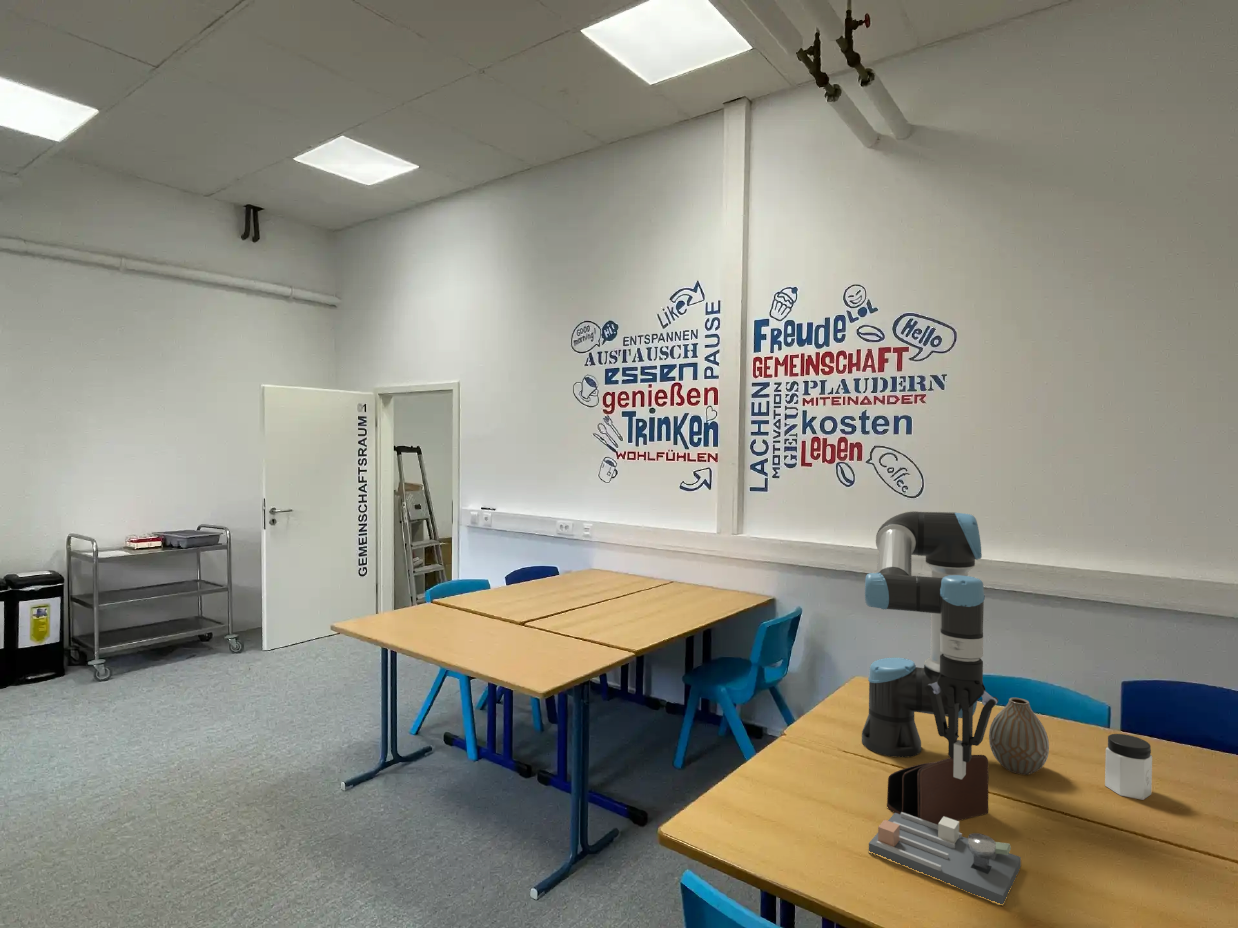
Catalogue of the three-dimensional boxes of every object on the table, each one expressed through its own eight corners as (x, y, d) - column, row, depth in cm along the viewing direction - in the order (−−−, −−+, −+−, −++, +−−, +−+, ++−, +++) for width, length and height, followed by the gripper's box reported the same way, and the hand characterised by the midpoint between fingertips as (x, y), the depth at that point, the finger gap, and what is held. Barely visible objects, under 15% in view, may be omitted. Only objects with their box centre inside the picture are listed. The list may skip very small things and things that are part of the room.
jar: (1141, 803, 154) (1142, 751, 154) (1100, 788, 161) (1101, 738, 161) (1156, 792, 159) (1157, 742, 159) (1116, 778, 166) (1117, 730, 166)
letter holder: (989, 814, 150) (990, 752, 149) (919, 831, 143) (920, 766, 143) (953, 792, 159) (953, 734, 159) (886, 808, 152) (886, 746, 152)
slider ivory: (938, 838, 136) (938, 823, 136) (943, 831, 139) (943, 816, 139) (954, 844, 134) (954, 828, 134) (959, 836, 137) (959, 821, 137)
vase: (1038, 786, 162) (1039, 715, 161) (980, 767, 171) (981, 699, 171) (1055, 769, 170) (1057, 701, 170) (999, 751, 180) (1000, 687, 180)
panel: (868, 852, 135) (868, 830, 135) (894, 821, 147) (895, 801, 146) (1002, 906, 119) (1003, 881, 119) (1020, 867, 131) (1021, 844, 131)
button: (964, 864, 127) (965, 840, 127) (971, 853, 131) (971, 830, 131) (991, 874, 124) (992, 850, 124) (997, 863, 128) (998, 839, 128)
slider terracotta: (878, 842, 135) (878, 826, 135) (884, 834, 138) (884, 819, 138) (893, 848, 133) (893, 832, 133) (899, 840, 136) (899, 824, 136)
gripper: (920, 653, 133) (918, 771, 133) (993, 667, 124) (991, 794, 124) (932, 645, 139) (931, 759, 139) (1003, 658, 130) (1001, 780, 130)
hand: (959, 775), depth 132 cm, fingers closed
